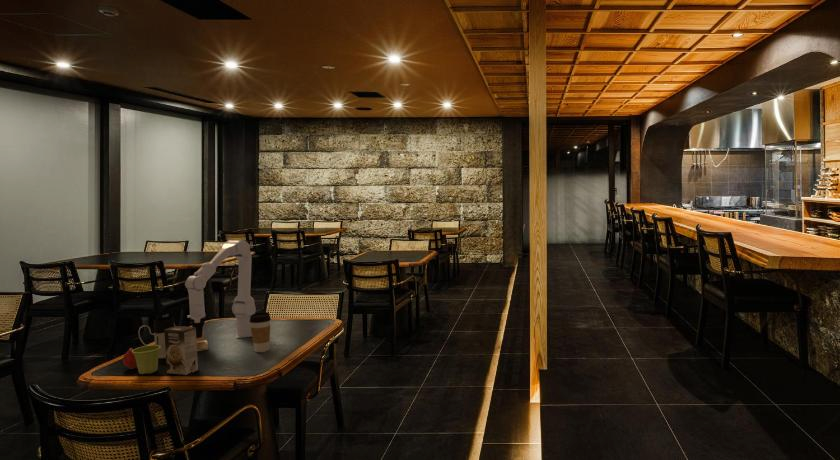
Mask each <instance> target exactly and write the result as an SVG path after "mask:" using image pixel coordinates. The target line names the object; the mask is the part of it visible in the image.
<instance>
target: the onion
mask: <svg viewBox="0 0 840 460" xmlns="http://www.w3.org/2000/svg"><path fill="white" fill-rule="evenodd" d="M132 350H134V349H133V348H132V347H130V348H129V349H128V350H127V351H126V352H125V354H124V355H123V357H122V363H123V365H124V366H126V367H127V368H129V369H130V370H134V369H135V368H136V367H137V363H136V359H135V356H134V354H133V353H132Z"/></svg>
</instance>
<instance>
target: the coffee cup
mask: <svg viewBox="0 0 840 460" xmlns="http://www.w3.org/2000/svg"><path fill="white" fill-rule="evenodd" d="M271 320H272V319H271V316H270V312H268V311H261V312H255V313H254V314H253V315H251V316H250V321H249V322H251V332H252V336H251V338H252V344H253V350H254V352H255V353H263V352H264V353H265V352H269V350H270V339H271V337H270V336H271V323H270V322H271Z"/></svg>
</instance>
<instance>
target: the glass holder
mask: <svg viewBox="0 0 840 460" xmlns="http://www.w3.org/2000/svg"><path fill="white" fill-rule="evenodd" d="M175 326H176V324H175V317H174V316H162V317H158V318H154V319H153V328H154V329H153V330H154V332H153V333H152V329H151V328H150V326H148V325H141V326H140V327H139V329H138V331H137V333H138V338H139V340H140V341H141V342H140V343H142V344H143V345H144V346H148V344H146V343H145V342H144V341H143V339H142V337H141V334H140V333H141V329H142V328H143V327H147V328H148V330H149V334H150V335H152V336H153V337H154V345H159V346H161V348H160V349H159V354H158V359H166V350H165V335H164V330H165V329H168V328H171V327H175Z"/></svg>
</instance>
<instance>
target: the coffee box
mask: <svg viewBox="0 0 840 460" xmlns="http://www.w3.org/2000/svg"><path fill="white" fill-rule="evenodd" d="M164 335H165V350H166V358H165V362H166V374H173V375H174V374H175V375H181V374H182V376H183V375H184V376H187V375H189V373H190V374H191V372H192V373H194V372H196V371H198V370H199V367H198V363H199V362H198V351H197V343H196V327H192V326H182V325H180V326H178V325H175V327H171V328H168V329H165V330H164Z"/></svg>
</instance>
